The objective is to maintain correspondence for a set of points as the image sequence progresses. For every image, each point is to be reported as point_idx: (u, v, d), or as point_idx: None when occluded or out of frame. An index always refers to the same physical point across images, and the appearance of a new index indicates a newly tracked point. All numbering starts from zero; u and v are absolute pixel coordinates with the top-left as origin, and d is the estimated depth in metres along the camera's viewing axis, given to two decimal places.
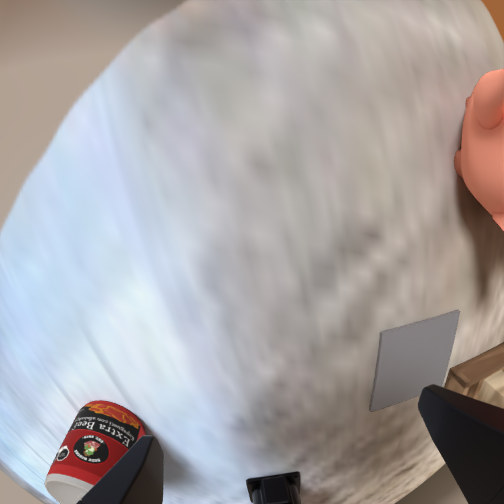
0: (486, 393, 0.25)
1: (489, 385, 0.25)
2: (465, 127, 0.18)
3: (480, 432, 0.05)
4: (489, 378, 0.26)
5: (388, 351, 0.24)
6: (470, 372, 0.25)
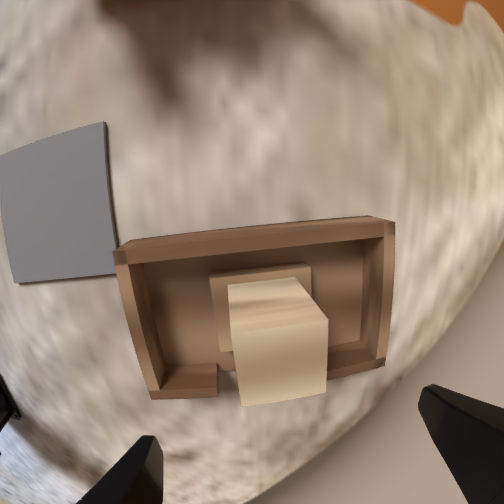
0: None
1: None
2: None
3: (480, 432, 0.05)
4: (243, 284, 0.17)
5: (6, 180, 0.16)
6: (149, 242, 0.16)
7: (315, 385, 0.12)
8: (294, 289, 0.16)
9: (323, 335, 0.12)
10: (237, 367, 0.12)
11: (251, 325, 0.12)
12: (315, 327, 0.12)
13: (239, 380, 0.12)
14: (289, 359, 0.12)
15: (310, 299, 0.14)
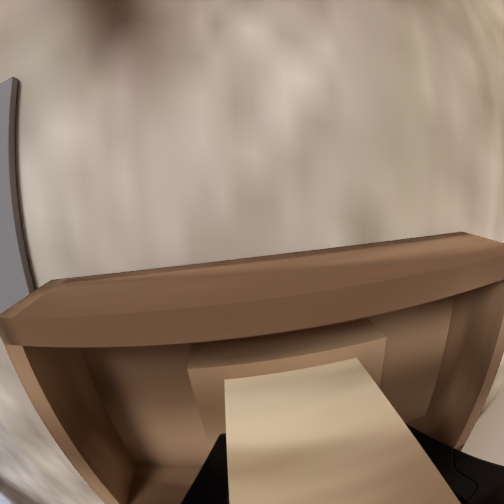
0: None
1: None
2: None
3: None
4: (257, 382, 0.08)
5: None
6: (63, 298, 0.07)
7: None
8: (367, 402, 0.06)
9: None
10: None
11: None
12: None
13: None
14: None
15: (411, 439, 0.05)
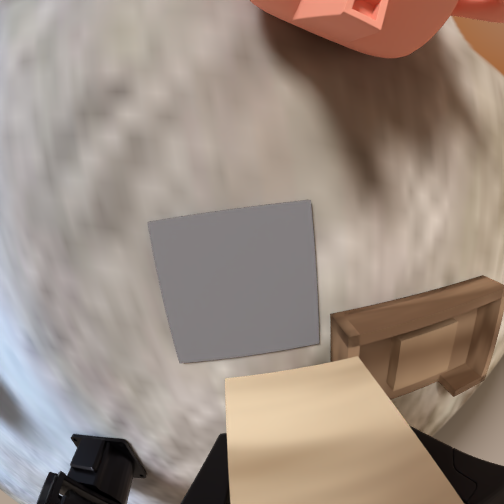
0: None
1: (227, 412, 0.07)
2: None
3: None
4: (258, 381, 0.08)
5: (168, 254, 0.18)
6: (366, 321, 0.18)
7: None
8: (369, 401, 0.06)
9: None
10: None
11: None
12: None
13: None
14: None
15: (413, 437, 0.05)
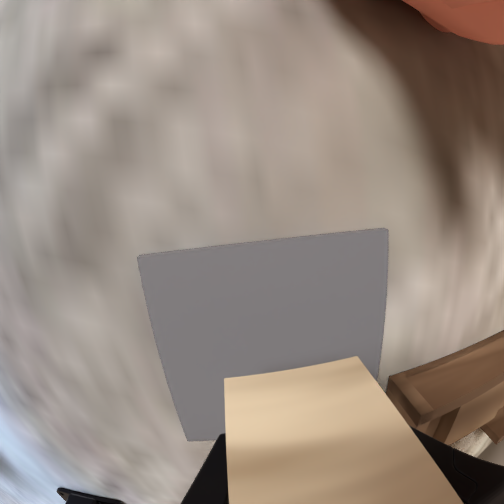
0: None
1: (226, 411, 0.07)
2: None
3: None
4: (257, 380, 0.08)
5: (170, 307, 0.11)
6: (436, 388, 0.12)
7: None
8: (368, 400, 0.06)
9: None
10: None
11: None
12: None
13: None
14: None
15: (412, 437, 0.05)
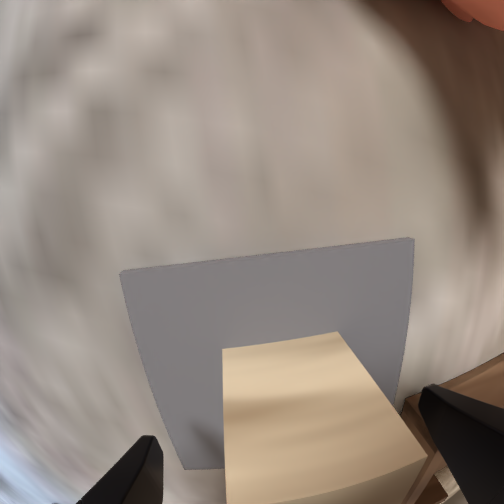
0: None
1: None
2: None
3: (480, 432, 0.05)
4: (250, 350, 0.09)
5: (160, 332, 0.09)
6: None
7: None
8: (344, 365, 0.08)
9: (410, 477, 0.04)
10: None
11: (272, 483, 0.04)
12: (401, 472, 0.04)
13: None
14: None
15: (380, 395, 0.06)
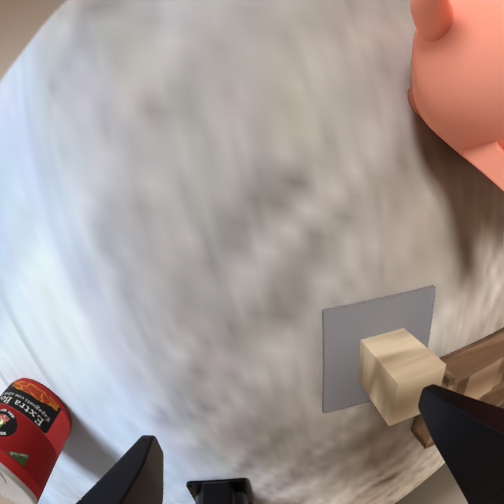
0: (366, 364, 0.20)
1: (367, 349, 0.19)
2: (412, 51, 0.14)
3: (480, 432, 0.05)
4: (372, 338, 0.20)
5: (336, 335, 0.20)
6: (455, 366, 0.21)
7: None
8: (411, 340, 0.19)
9: (442, 374, 0.15)
10: (395, 403, 0.15)
11: (405, 375, 0.15)
12: (439, 370, 0.15)
13: (393, 410, 0.15)
14: None
15: (427, 349, 0.17)
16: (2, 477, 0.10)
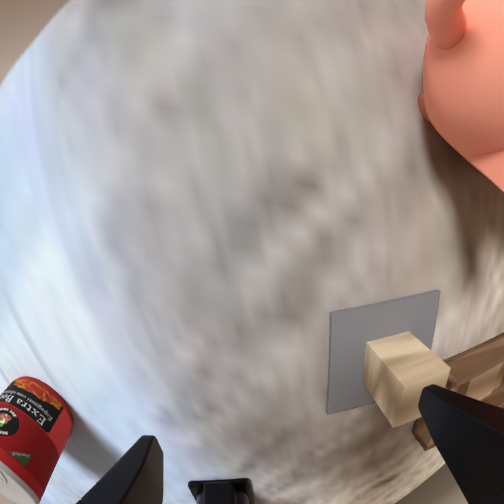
0: (371, 366, 0.20)
1: (373, 352, 0.19)
2: (424, 57, 0.14)
3: (480, 432, 0.05)
4: (378, 341, 0.21)
5: (343, 338, 0.20)
6: (457, 370, 0.21)
7: None
8: (416, 344, 0.19)
9: (446, 377, 0.15)
10: (400, 405, 0.15)
11: (411, 378, 0.15)
12: (444, 373, 0.15)
13: (398, 412, 0.16)
14: None
15: (431, 352, 0.17)
16: (4, 477, 0.10)
